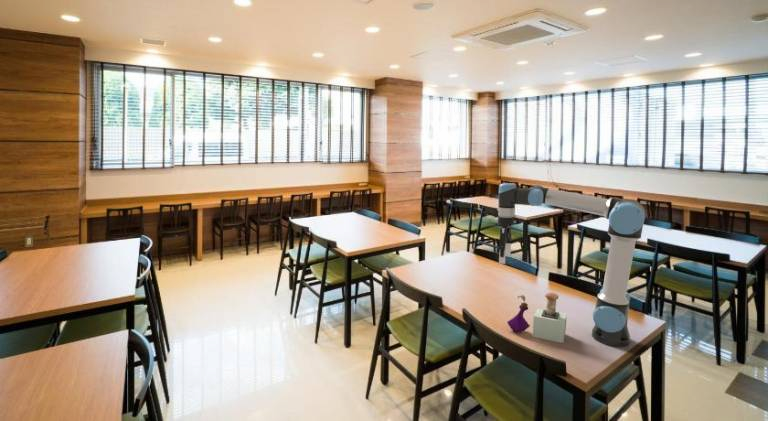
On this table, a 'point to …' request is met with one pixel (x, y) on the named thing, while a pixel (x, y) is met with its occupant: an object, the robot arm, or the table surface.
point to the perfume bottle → (519, 318)
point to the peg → (551, 303)
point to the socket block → (549, 326)
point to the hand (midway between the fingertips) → (504, 259)
